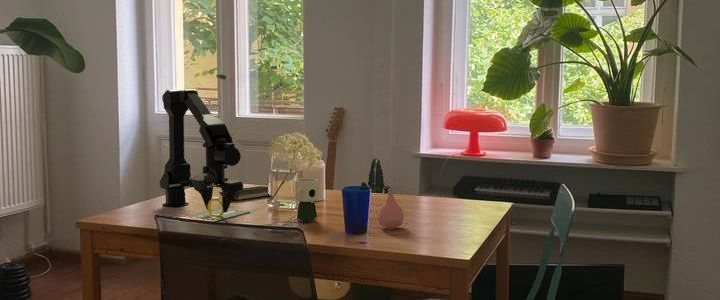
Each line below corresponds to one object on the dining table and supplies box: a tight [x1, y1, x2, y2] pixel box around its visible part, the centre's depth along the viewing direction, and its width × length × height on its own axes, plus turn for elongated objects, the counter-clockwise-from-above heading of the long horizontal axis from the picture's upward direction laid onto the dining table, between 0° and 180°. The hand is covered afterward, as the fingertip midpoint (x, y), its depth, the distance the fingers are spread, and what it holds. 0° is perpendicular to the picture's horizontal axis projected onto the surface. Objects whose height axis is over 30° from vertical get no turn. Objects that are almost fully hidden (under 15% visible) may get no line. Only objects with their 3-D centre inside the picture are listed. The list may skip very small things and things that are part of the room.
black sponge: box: [232, 185, 269, 201], centre depth 274 cm, size 16×8×4 cm, turn 128°
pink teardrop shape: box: [377, 187, 405, 230], centre depth 225 cm, size 8×8×12 cm
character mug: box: [294, 177, 319, 222], centre depth 235 cm, size 11×7×13 cm, turn 156°
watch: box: [207, 196, 224, 216], centre depth 241 cm, size 6×3×6 cm, turn 64°
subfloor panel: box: [182, 206, 251, 221], centre depth 243 cm, size 13×22×1 cm, turn 145°
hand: (216, 210), depth 242 cm, fingers open, 7 cm apart
